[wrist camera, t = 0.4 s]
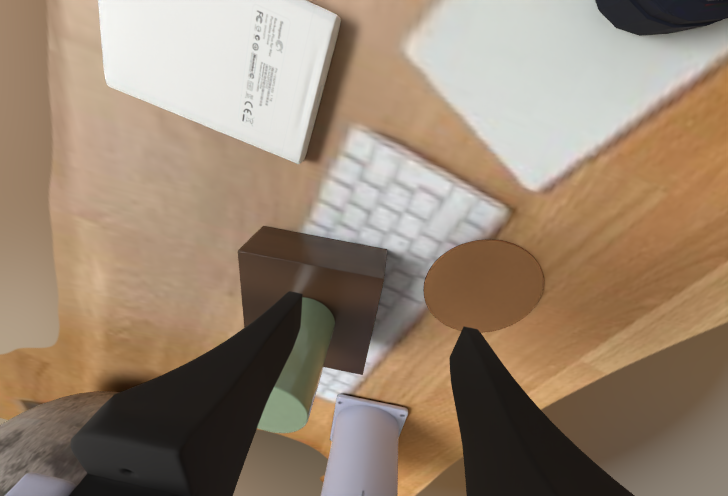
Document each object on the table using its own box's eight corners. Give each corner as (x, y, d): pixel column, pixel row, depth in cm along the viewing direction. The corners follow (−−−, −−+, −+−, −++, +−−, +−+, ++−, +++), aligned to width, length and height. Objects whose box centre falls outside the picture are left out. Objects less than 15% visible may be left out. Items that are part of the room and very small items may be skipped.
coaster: (513, 339, 25) (514, 341, 25) (412, 319, 25) (412, 321, 25) (564, 252, 21) (566, 254, 20) (440, 229, 21) (441, 230, 21)
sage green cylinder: (332, 345, 23) (306, 440, 16) (278, 334, 23) (232, 424, 17) (338, 303, 20) (310, 394, 14) (278, 291, 20) (225, 376, 14)
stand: (367, 338, 27) (362, 375, 24) (266, 318, 28) (246, 351, 24) (387, 249, 22) (384, 278, 19) (262, 225, 23) (237, 250, 19)
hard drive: (118, -84, 15) (342, 19, 16) (127, 87, 19) (305, 160, 20) (88, -102, 13) (336, 12, 14) (104, 86, 17) (297, 166, 18)
